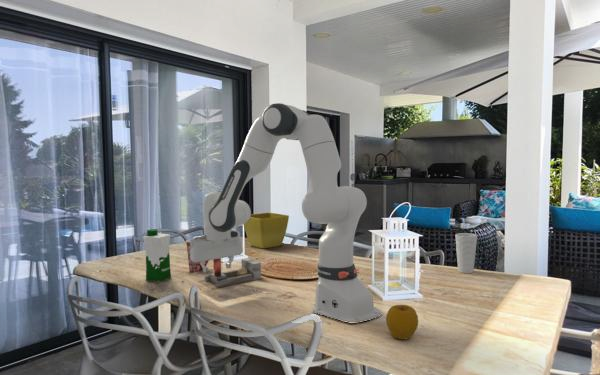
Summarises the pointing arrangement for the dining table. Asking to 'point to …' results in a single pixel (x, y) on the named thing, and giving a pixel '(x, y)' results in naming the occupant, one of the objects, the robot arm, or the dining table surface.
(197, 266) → the mug
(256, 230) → the flower pot
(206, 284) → the cracker bed
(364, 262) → the dining table surface
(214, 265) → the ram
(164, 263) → the milk carton
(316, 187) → the robot arm
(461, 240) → the cup
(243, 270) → the nut
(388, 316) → the apple
